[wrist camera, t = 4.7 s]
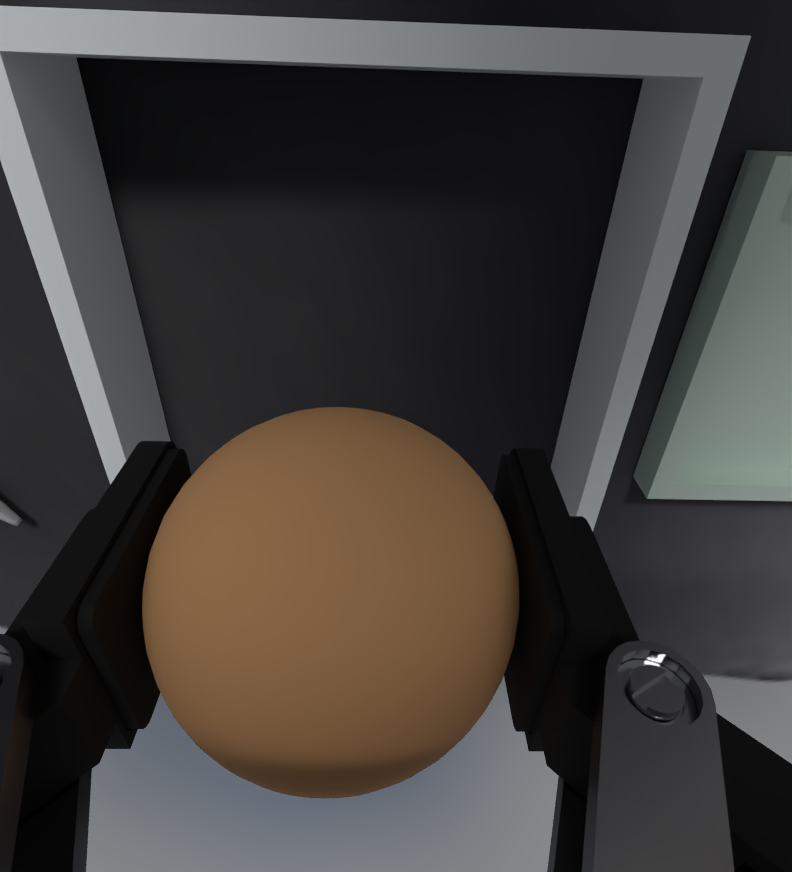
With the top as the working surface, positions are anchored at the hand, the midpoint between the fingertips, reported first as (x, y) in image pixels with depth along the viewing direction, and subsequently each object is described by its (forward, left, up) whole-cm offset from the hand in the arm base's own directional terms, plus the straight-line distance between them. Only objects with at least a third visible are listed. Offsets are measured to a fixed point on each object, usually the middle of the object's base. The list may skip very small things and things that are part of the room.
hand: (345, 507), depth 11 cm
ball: (0, 0, +2) cm, 2 cm away
